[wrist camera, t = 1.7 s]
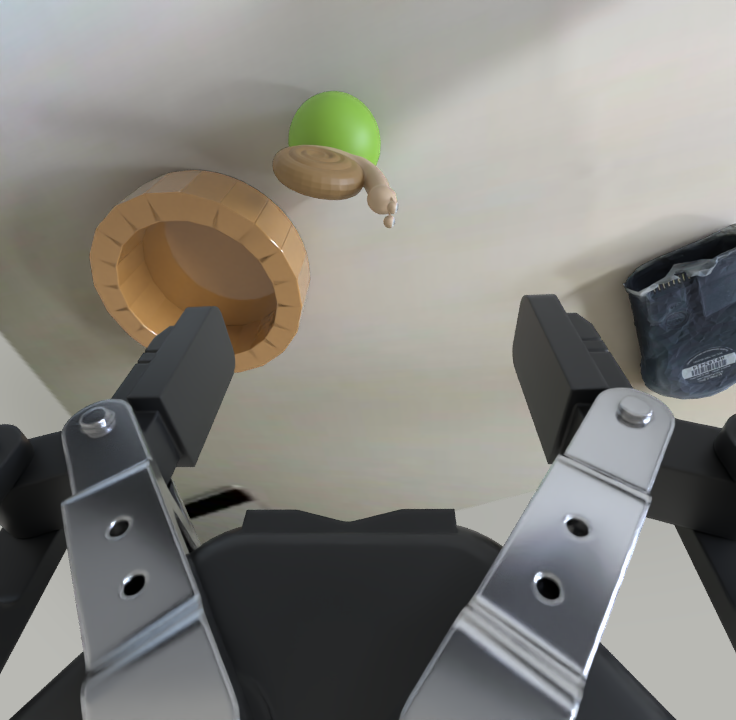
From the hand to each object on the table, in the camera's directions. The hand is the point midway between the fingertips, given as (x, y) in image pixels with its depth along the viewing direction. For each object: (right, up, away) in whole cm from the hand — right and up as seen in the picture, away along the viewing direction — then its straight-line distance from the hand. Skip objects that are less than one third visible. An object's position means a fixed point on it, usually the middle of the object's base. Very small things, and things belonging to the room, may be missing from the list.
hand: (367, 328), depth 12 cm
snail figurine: (-1, +14, +16) cm, 22 cm away
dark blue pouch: (+26, +3, +24) cm, 36 cm away
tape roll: (-12, +7, +23) cm, 27 cm away
